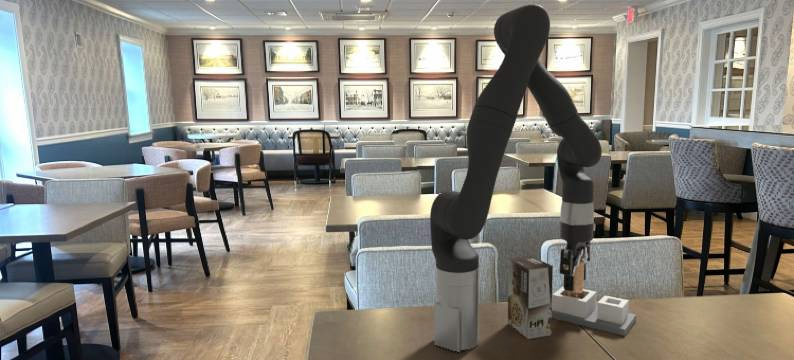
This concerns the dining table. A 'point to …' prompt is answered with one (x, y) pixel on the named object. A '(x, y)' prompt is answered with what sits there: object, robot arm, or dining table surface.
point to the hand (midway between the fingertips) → (574, 284)
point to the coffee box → (530, 296)
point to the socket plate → (593, 311)
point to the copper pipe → (577, 282)
